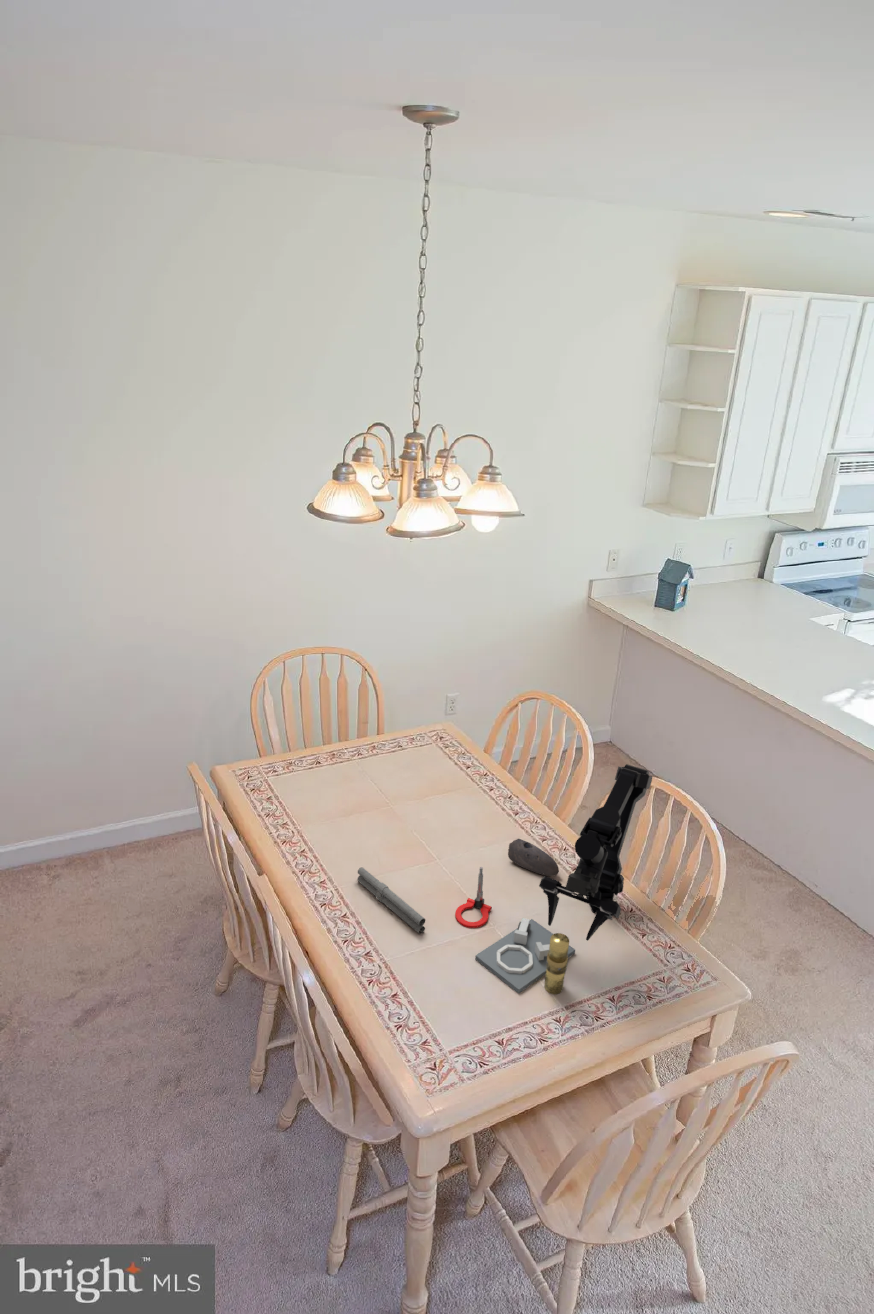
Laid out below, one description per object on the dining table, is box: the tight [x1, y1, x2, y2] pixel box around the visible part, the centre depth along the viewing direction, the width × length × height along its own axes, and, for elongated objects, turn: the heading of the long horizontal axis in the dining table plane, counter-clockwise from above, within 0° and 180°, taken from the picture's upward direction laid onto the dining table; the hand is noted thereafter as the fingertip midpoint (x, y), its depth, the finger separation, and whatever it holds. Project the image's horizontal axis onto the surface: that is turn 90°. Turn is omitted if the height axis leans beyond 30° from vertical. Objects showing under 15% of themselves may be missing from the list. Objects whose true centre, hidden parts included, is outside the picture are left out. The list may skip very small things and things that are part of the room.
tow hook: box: [454, 866, 493, 929], centre depth 219 cm, size 8×13×9 cm
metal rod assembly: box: [357, 867, 426, 935], centre depth 223 cm, size 26×3×5 cm, turn 42°
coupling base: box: [475, 917, 576, 994], centre depth 209 cm, size 20×14×4 cm
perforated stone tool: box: [507, 838, 560, 877], centre depth 239 cm, size 15×5×7 cm, turn 54°
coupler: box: [543, 932, 570, 995], centre depth 198 cm, size 5×5×14 cm
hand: (567, 932), depth 201 cm, fingers open, 9 cm apart
